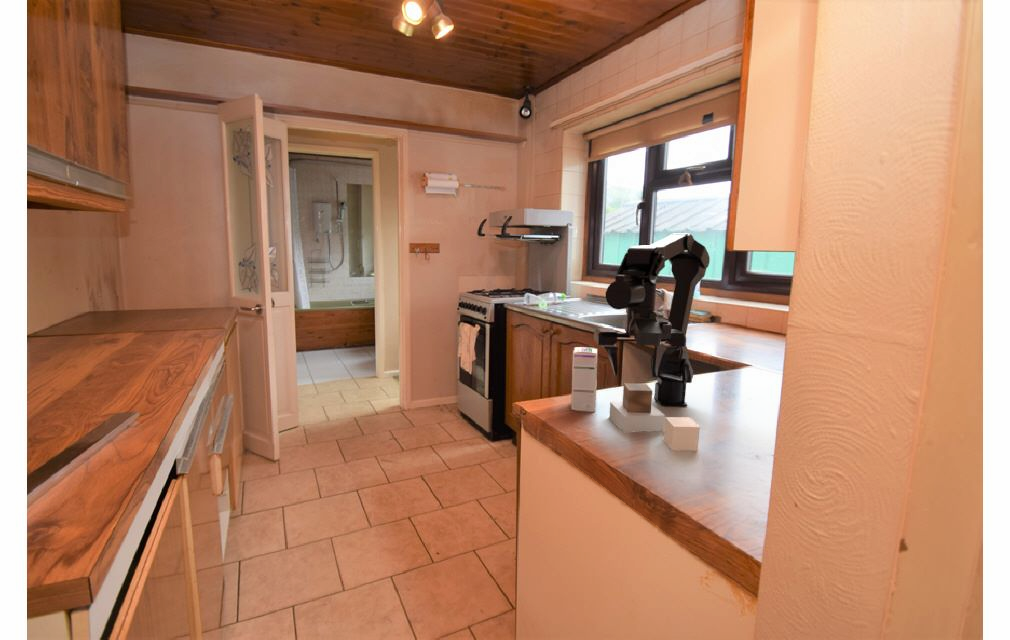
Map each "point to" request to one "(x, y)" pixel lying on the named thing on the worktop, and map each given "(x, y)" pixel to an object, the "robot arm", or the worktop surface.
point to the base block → (636, 419)
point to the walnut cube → (637, 398)
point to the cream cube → (681, 433)
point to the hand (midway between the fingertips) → (636, 375)
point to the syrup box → (584, 379)
